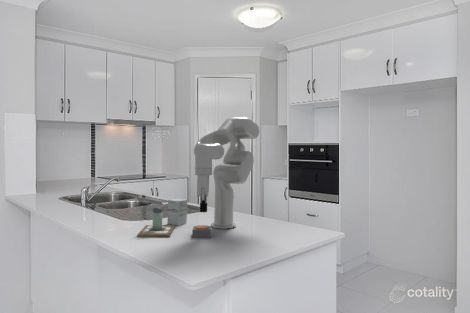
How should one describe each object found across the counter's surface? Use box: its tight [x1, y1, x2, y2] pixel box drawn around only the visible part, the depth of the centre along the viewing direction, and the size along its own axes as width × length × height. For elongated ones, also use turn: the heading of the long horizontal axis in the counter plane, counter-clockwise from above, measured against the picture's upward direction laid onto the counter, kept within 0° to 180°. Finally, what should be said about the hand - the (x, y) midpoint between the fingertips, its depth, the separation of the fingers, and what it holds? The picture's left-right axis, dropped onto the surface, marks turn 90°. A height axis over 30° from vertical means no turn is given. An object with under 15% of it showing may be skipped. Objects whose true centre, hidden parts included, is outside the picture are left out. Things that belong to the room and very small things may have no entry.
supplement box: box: [166, 198, 188, 227], centre depth 188 cm, size 7×7×13 cm
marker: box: [152, 206, 163, 230], centre depth 168 cm, size 4×4×10 cm
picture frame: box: [136, 224, 176, 238], centre depth 168 cm, size 20×14×1 cm
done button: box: [195, 224, 209, 229], centre depth 163 cm, size 5×5×3 cm
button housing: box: [191, 225, 212, 239], centre depth 163 cm, size 8×8×4 cm
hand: (203, 211), depth 164 cm, fingers closed
